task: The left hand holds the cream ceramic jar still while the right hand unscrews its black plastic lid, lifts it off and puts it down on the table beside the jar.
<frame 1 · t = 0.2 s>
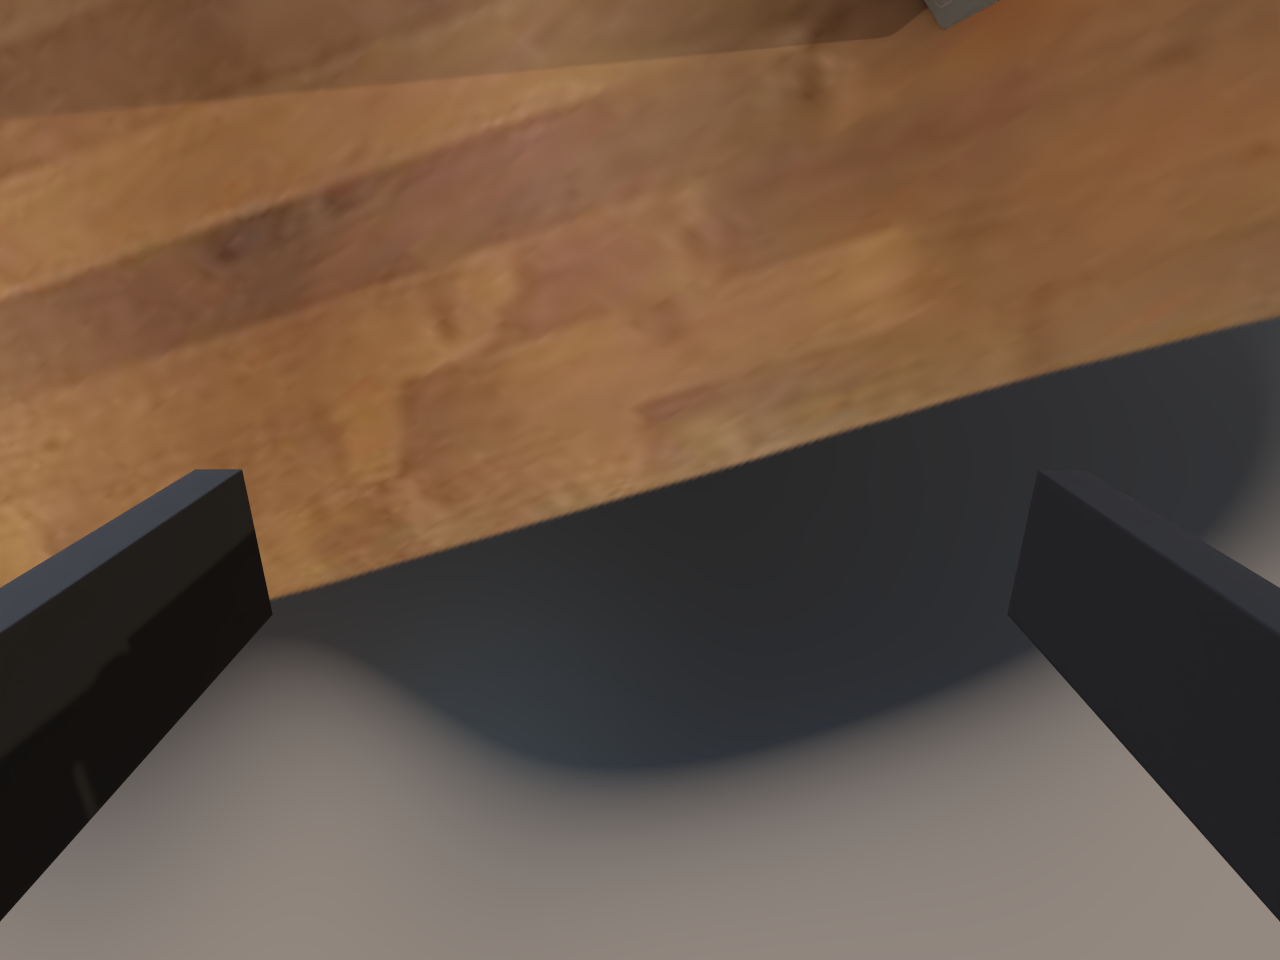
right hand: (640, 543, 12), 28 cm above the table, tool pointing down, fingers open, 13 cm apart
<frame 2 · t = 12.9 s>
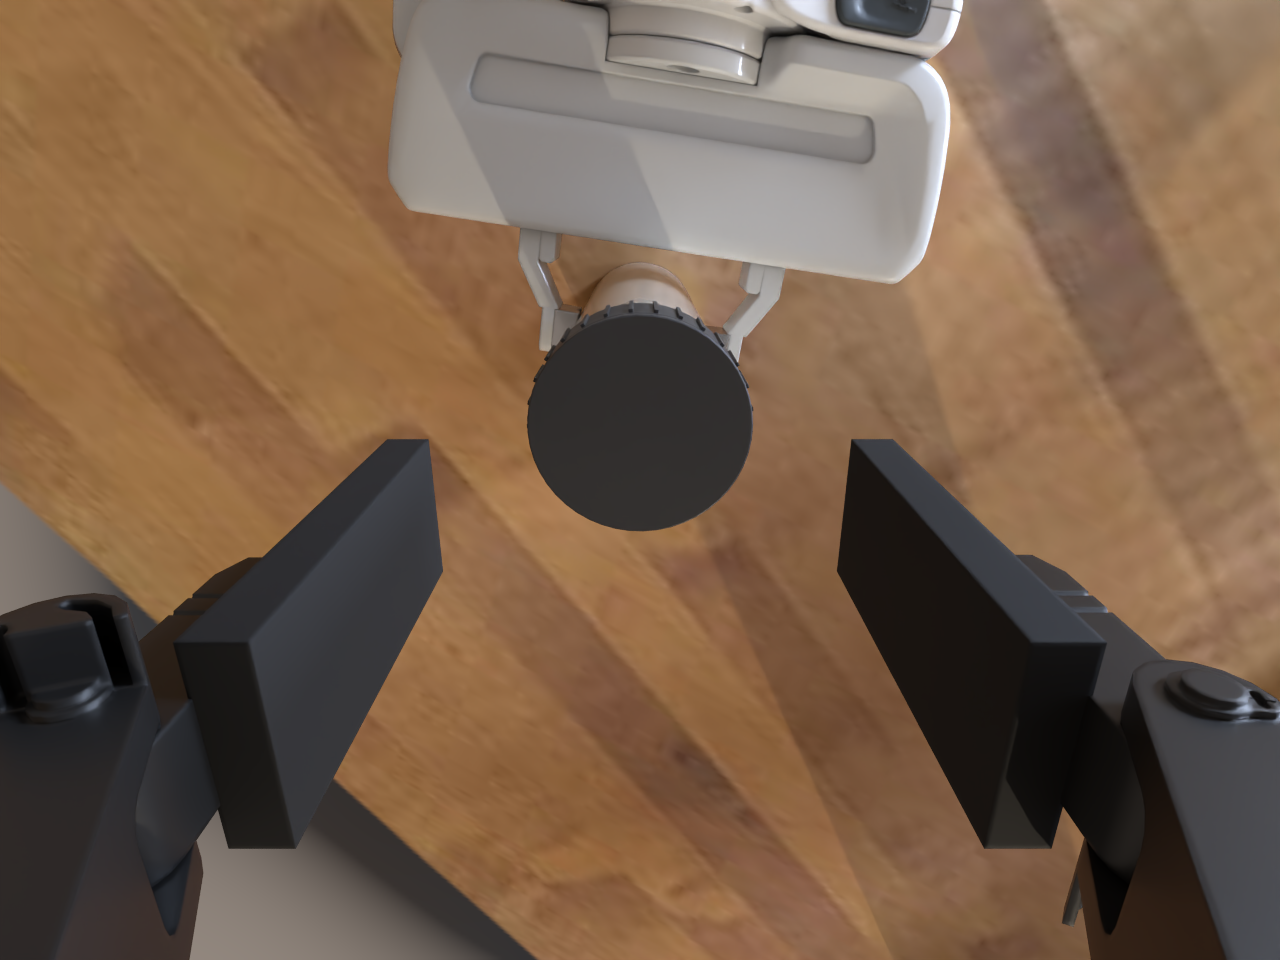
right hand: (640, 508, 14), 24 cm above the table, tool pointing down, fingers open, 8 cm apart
left hand: (638, 362, 30), fingers closed on jar, 5 cm apart
lid: (640, 425, 19), point 19 cm above the table, screwed on, not yet turned
jar: (639, 317, 36), on the table, touching left hand
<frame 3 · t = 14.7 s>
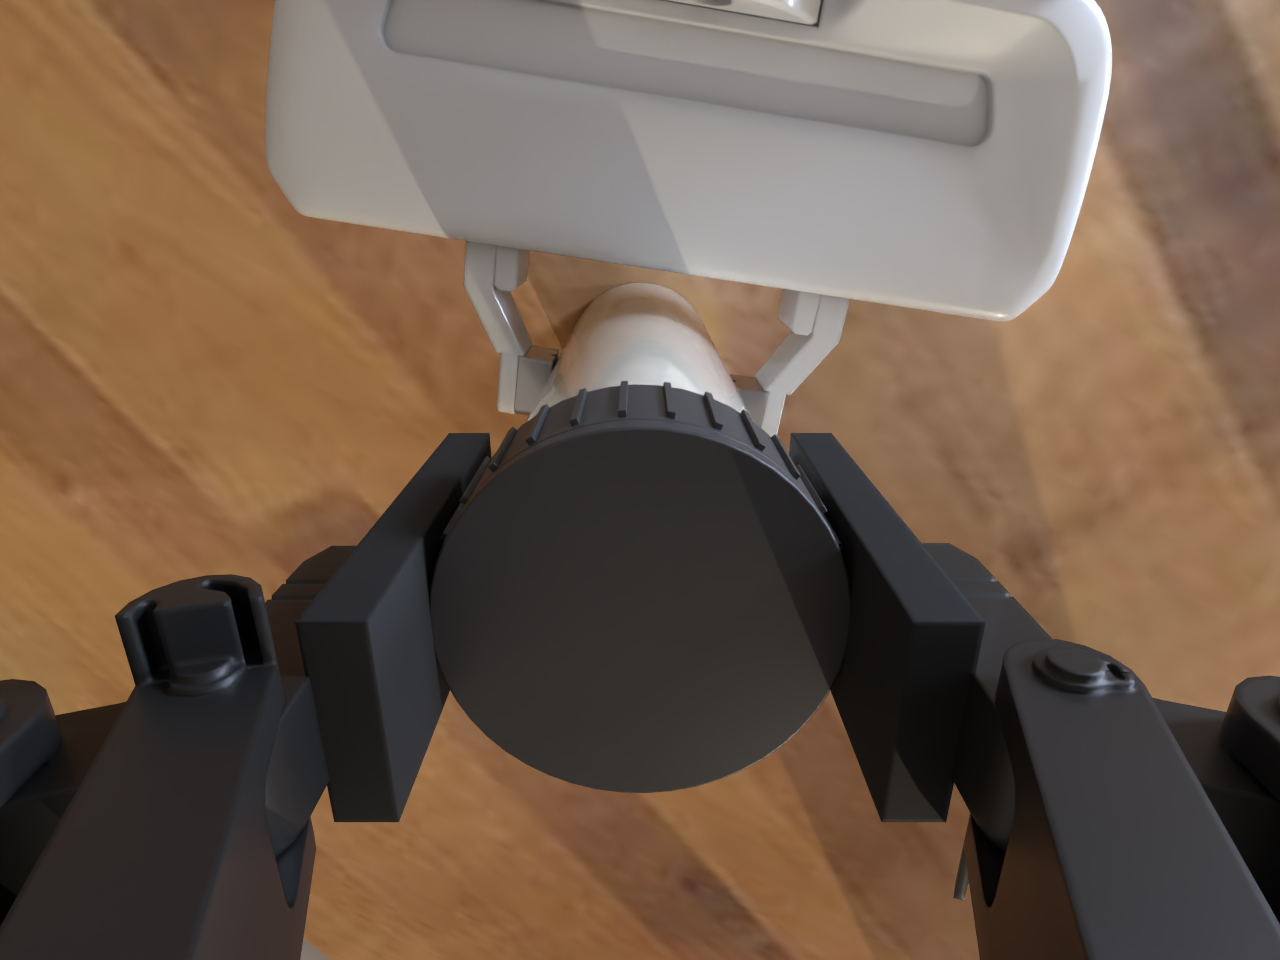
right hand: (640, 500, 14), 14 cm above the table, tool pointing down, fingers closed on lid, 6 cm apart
left hand: (637, 426, 22), fingers closed on jar, 5 cm apart
lid: (640, 616, 10), point 19 cm above the table, screwed on, not yet turned, touching right hand
jar: (640, 353, 28), on the table, touching left hand
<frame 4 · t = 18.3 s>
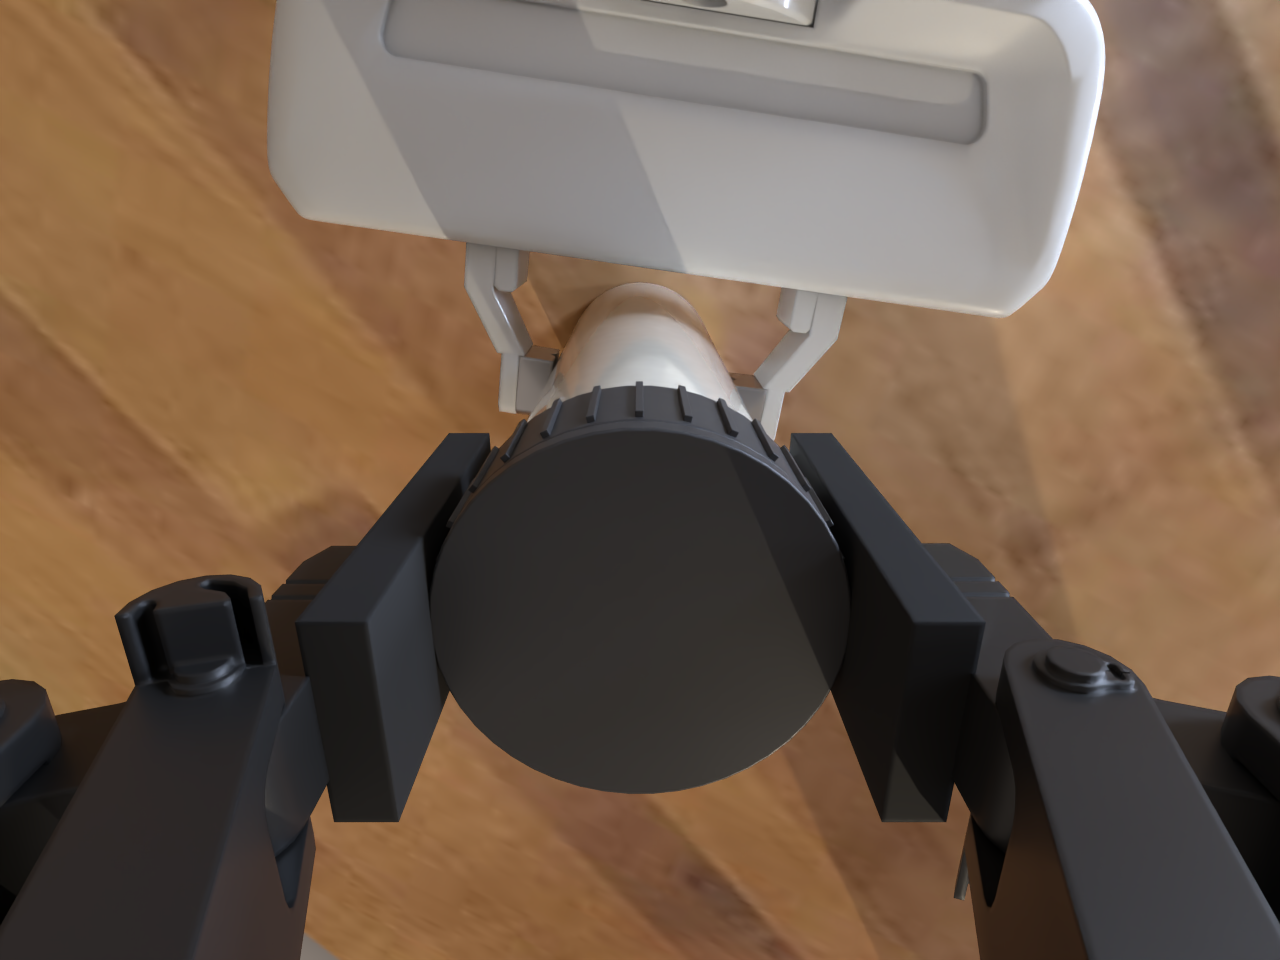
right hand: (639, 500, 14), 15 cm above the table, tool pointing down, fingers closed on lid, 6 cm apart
left hand: (637, 425, 22), fingers closed on jar, 5 cm apart
lid: (640, 617, 10), point 19 cm above the table, turned 107° so far, risen 0.2 cm, still on its thread, touching right hand
jar: (640, 353, 28), on the table, touching left hand
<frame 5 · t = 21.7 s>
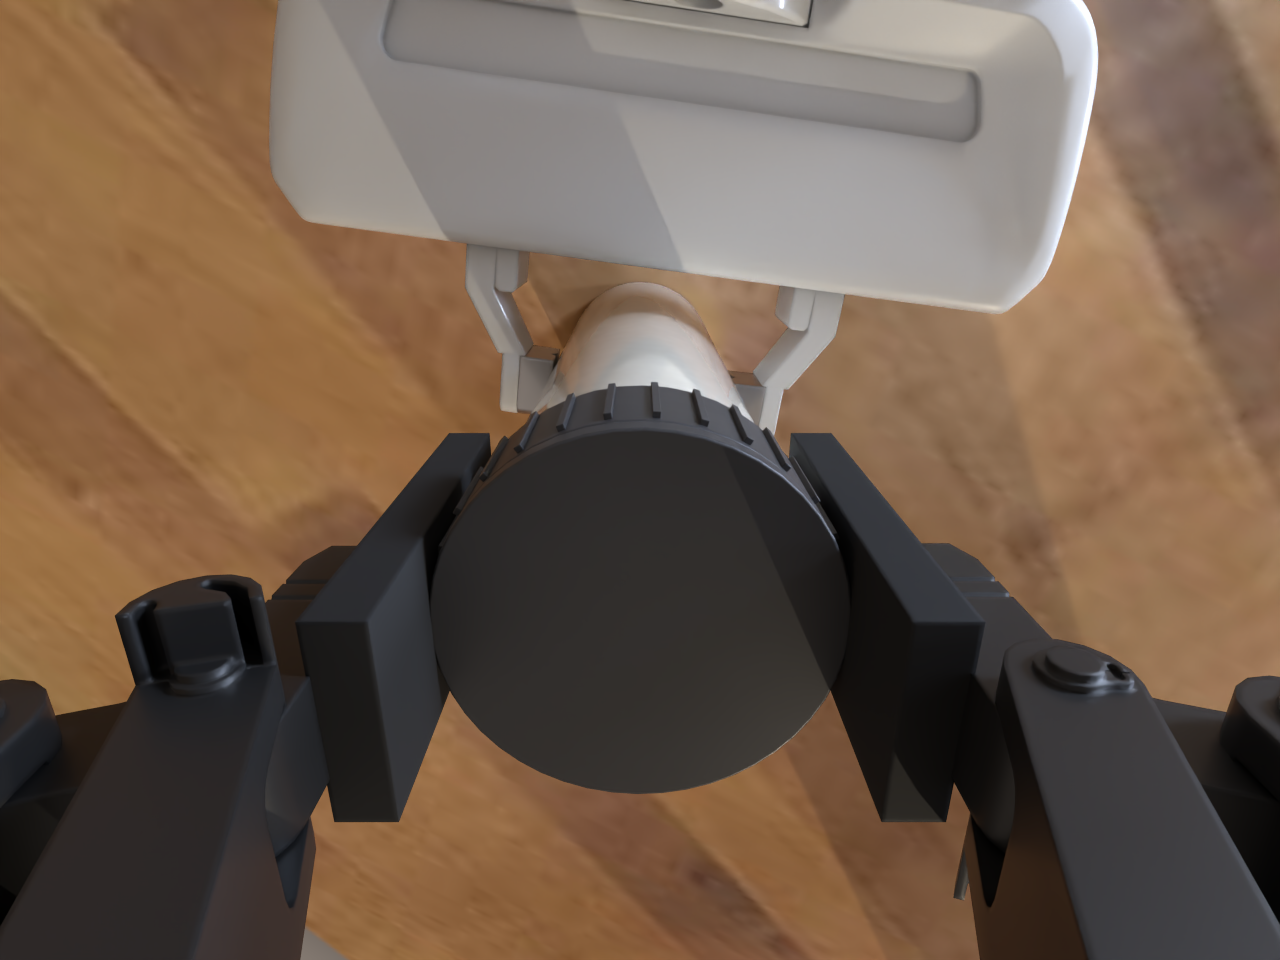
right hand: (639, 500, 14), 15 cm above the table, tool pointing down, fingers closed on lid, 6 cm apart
left hand: (637, 423, 22), fingers closed on jar, 5 cm apart
lid: (640, 617, 10), point 19 cm above the table, turned 214° so far, risen 0.4 cm, still on its thread, touching right hand
jar: (640, 352, 28), on the table, touching left hand
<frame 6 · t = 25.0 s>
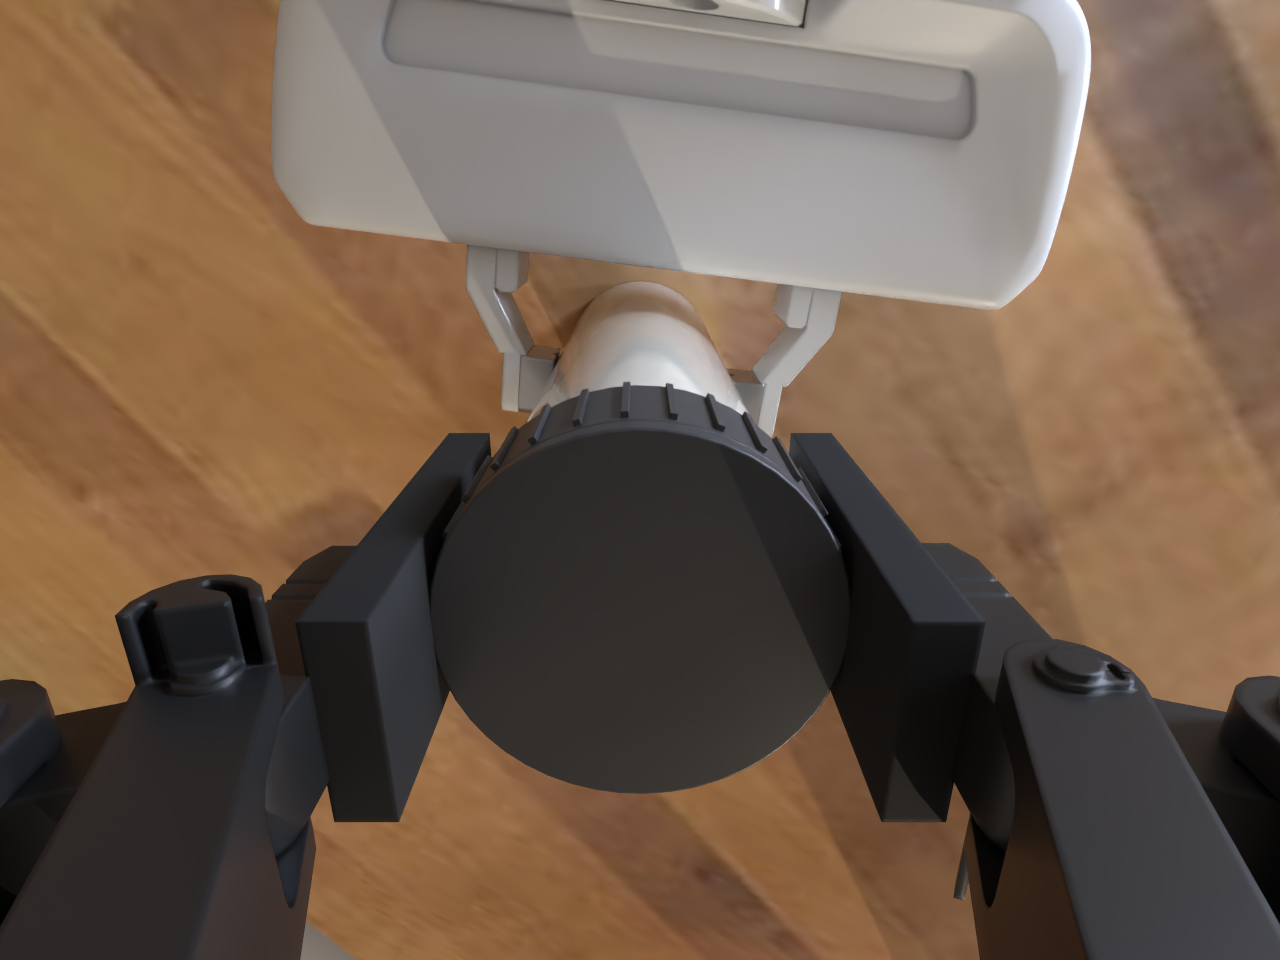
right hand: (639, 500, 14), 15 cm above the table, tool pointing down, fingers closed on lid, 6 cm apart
left hand: (638, 421, 22), fingers closed on jar, 5 cm apart
lid: (640, 616, 10), point 19 cm above the table, turned 321° so far, risen 0.6 cm, still on its thread, touching right hand
jar: (640, 351, 28), on the table, touching left hand
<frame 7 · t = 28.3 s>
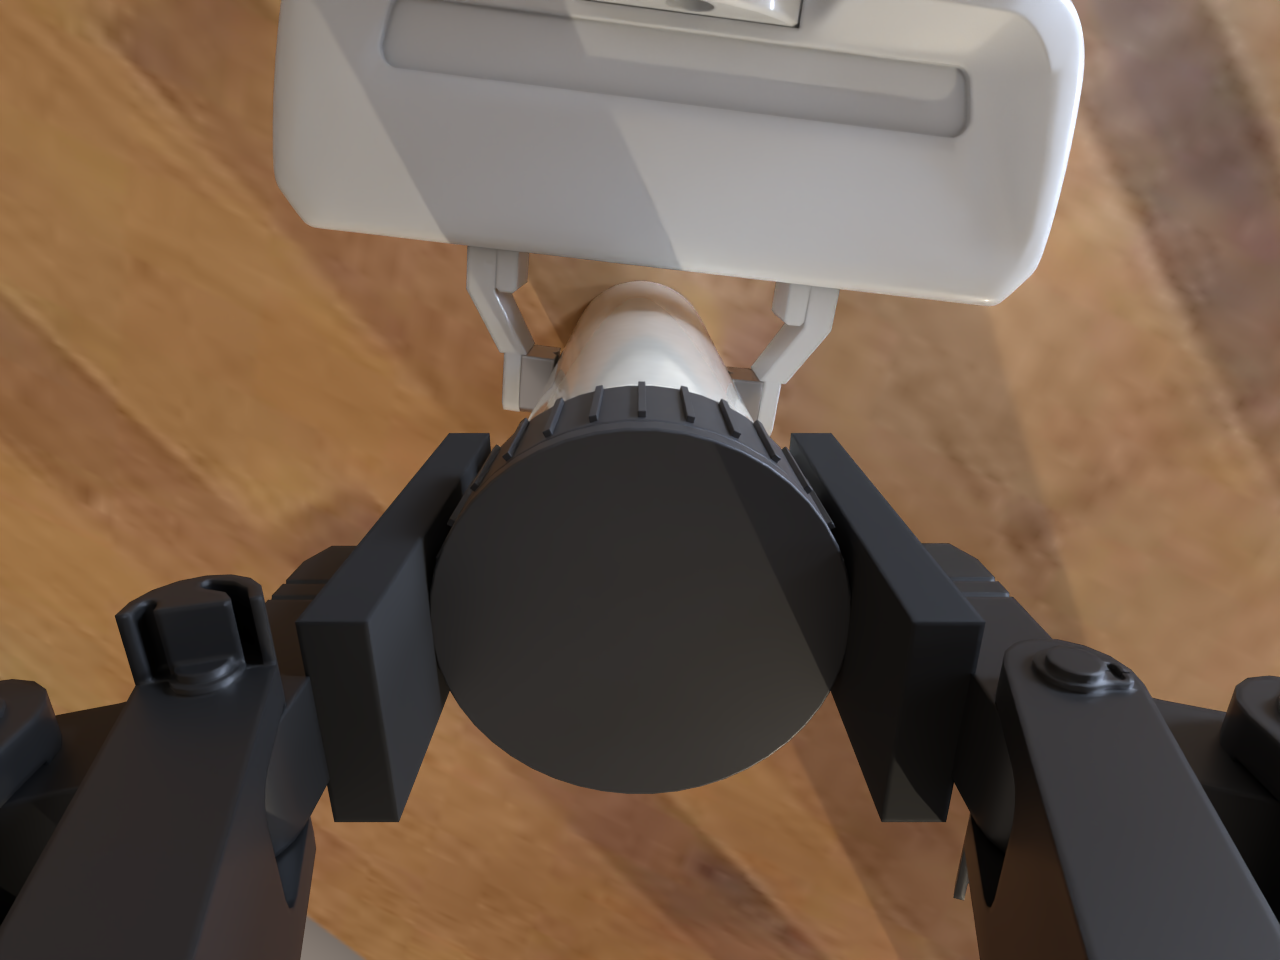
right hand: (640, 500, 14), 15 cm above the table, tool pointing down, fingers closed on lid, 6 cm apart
left hand: (638, 419, 22), fingers closed on jar, 5 cm apart
lid: (640, 617, 10), point 19 cm above the table, turned 428° so far, risen 0.7 cm, still on its thread, touching right hand
jar: (640, 350, 28), on the table, touching left hand
when the right hand's fingers open (0 cm above the table, at t = 35.2 s): lid drops 2 cm, point 2 cm above the table.
when the left hand's fingers open (7 cm above the table, at t = 35.9 s): jar stays where it is, on the table.
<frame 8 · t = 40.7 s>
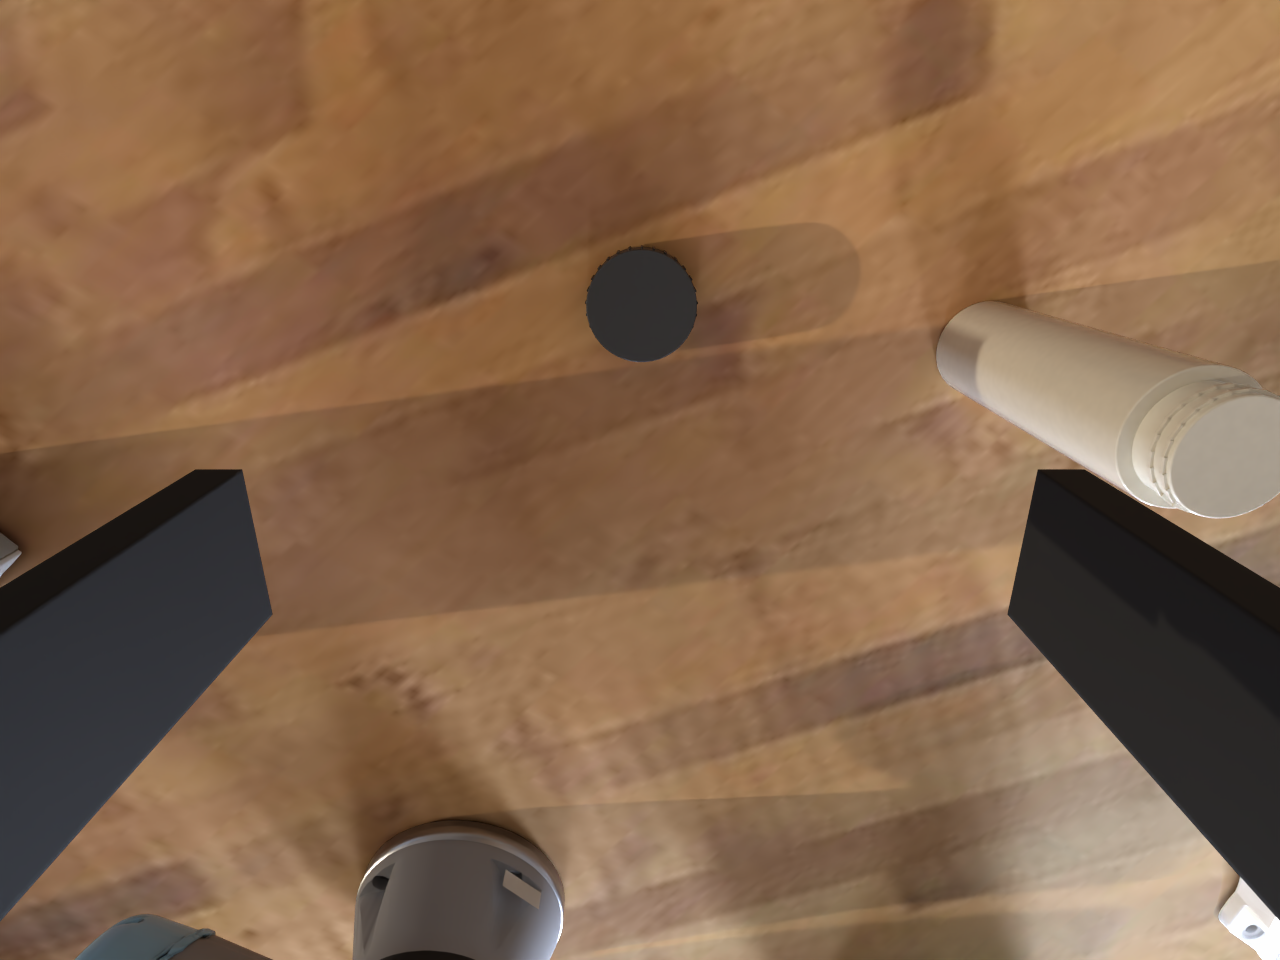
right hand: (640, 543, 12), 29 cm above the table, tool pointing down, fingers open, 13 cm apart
lid: (641, 306, 38), point 2 cm above the table, off its thread
jar: (983, 348, 41), on the table
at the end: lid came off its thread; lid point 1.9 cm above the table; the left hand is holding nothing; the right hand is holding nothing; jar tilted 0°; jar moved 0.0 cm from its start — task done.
